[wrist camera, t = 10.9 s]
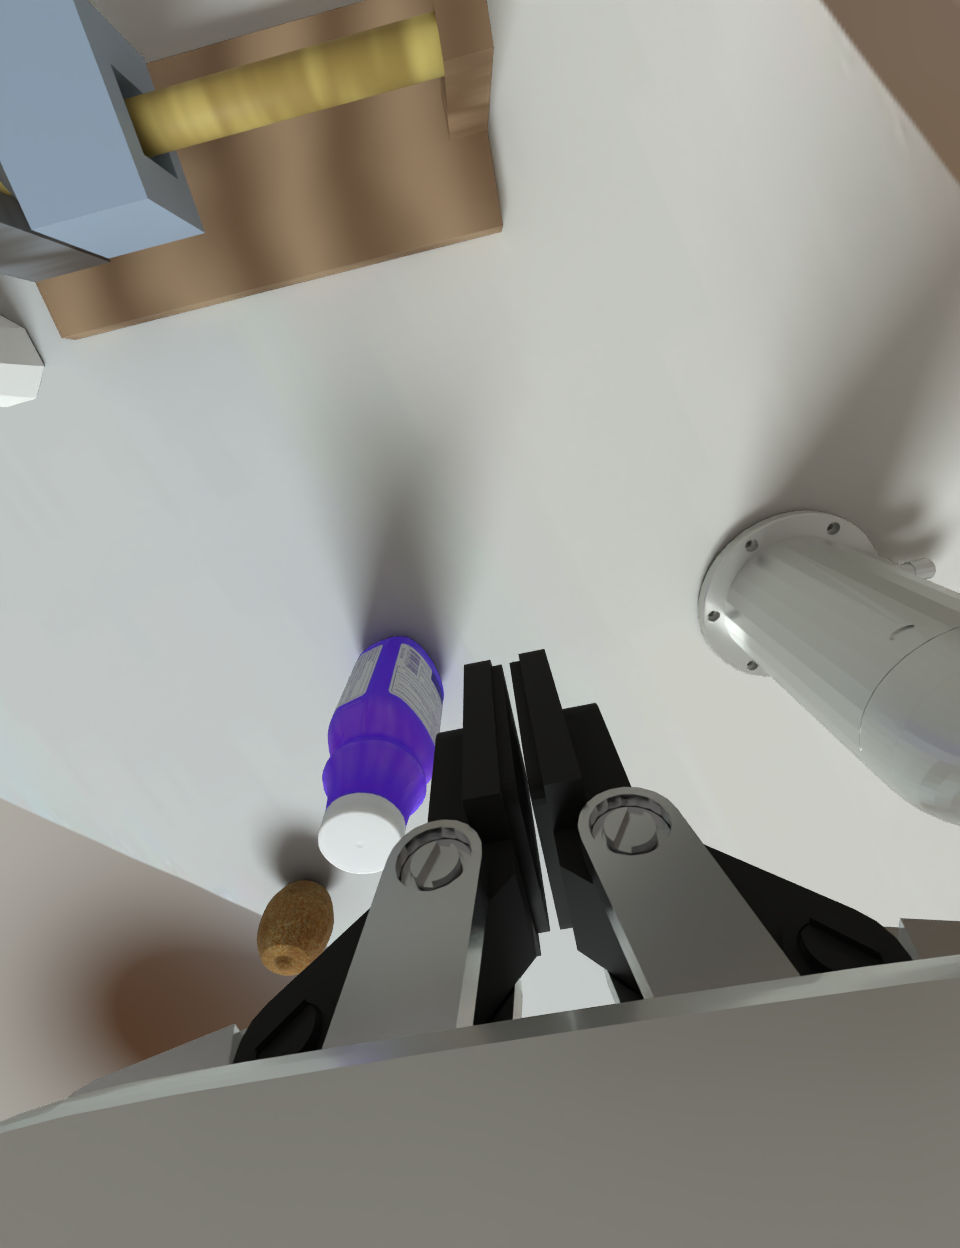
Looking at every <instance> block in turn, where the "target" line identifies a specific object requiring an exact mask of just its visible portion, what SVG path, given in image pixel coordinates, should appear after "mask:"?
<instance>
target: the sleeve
mask: <svg viewBox="0 0 960 1248" xmlns="http://www.w3.org/2000/svg"><path fill="white" fill-rule="evenodd" d="M154 90H155V88H154V85H153V83H152V80H151V77H150V74H149V71H148V68H147V65H146V63H145V60H144V58H143V57H142V56H141V55H140V54H139V53H138V52H137V51H136V50H135V49H134V48H133V47H132V46H131V45H130V44H129V43H128V42H127V40H126V39H125V38H124V37H123V36H122V35H121V34H120V33H119V32H118V31H117V30H116V29H115V28H114V27H113V26H112V25H111V24H110V23H109V22H108V21H107V20H106V19H105V18H104V17H103V16H102V15H101V14H100V13H99V12H98V11H97V10H96V9H95V8H94V7H93V6H92V5H91V3H90V2H89V1H88V0H0V162H1V164H2V166H3V169H4V171H5V173H6V175H7V177H8V180H9V182H10V184H11V186H12V188H13V191H14V193H15V195H16V197H17V199H18V201H19V204H20V206H21V208H22V210H23V212H24V215H25V217H26V219H27V221H28V223H29V225H30V228H31V230H33V231H36V232H39V233H41V234H44V235H47V236H49V237H52V238H55V239H57V240H60V241H63V242H66V243H68V244H71V245H74V246H76V247H79V248H82V249H84V250H87V251H90V252H92V253H95V254H98V255H101V256H103V257H106V258H112V257H116V256H120V255H124V254H127V253H131V252H135V251H139V250H143V249H146V248H150V247H154V246H158V245H162V244H165V243H169V242H173V241H177V240H181V239H184V238H188V237H192V236H196V235H200V234H203V233H205V231H204V228H203V226H202V223H201V220H200V217H199V214H198V211H197V208H196V206H195V203H194V200H193V197H192V194H191V191H190V188H189V186H188V183H187V180H186V177H185V174H184V171H183V168H182V166H181V163H180V160H179V157H178V154H177V151H176V150H175V151H172V152H168V153H164V154H161V155H157V156H153V157H150V158H148V157H147V156H145V155H144V153H143V151H142V148H141V145H140V143H139V140H138V137H137V134H136V132H135V129H134V126H133V124H132V121H131V118H130V116H129V113H128V110H127V107H126V105H125V102H124V99H126V98H130V97H133V96H137V95H140V94H144V93H147V92H151V91H154Z"/></svg>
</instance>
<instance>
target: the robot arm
mask: <svg viewBox="0 0 960 1248" xmlns="http://www.w3.org/2000/svg"><path fill="white" fill-rule="evenodd" d="M748 541H749V542H748ZM747 542H748V544H747V545H746V543H747ZM935 572H936V569H935V565H934V563H933V562H932V561H931V560H930V559H920V560H915V561H910V562H906V563H904V564H898V563H895V562H893V561H890V560H888V559H885V558H883V557H880V556H878V555H877V554H876V551H875V548H874V547H873V545H872V544H871V542H870V540H869V539H868V537H867V536H866V535H865V534H864V533H863V532H862V531H861V530H860V529H859V528H858V527H857V526H855V525H853V524H852V523H850V522H848V521H846V520H845V519H843V518H840V517H837V516H834V515H831V514H828V513H823V512H817V511H792V512H787V513H782V514H778V515H775V516H772V517H770V518H767V519H765V520H762V521H760V522H758V523H756V524H754V525H753V526H751V527H749V528H748V529H746V530H744V531H743V532H742V533H740V534H739V535H738V536H737V537H736V538H734V539H733V540H732V541H731V542H730V543H729V544H728V545H727V546H726V547H725V548H724V549H723V550H722V552H721V553H720V554H719V555H718V556H717V557H716V559H715V561H714V562H713V564H712V565H711V567H710V569H709V570H708V572H707V574H706V577H705V579H704V582H703V584H702V587H701V591H700V596H699V601H698V619H699V623H700V628H701V632H702V634H703V636H704V638H705V640H706V642H707V644H708V645H709V646H710V647H711V649H712V650H713V651H714V652H715V654H717V655H718V656H719V657H720V658H721V659H722V660H723V661H724V662H725V663H726V664H728V665H730V666H731V667H733V668H735V669H736V670H739V671H741V672H744V673H746V674H750V675H756V676H763V677H772V678H773V679H774V680H775V681H776V682H777V683H778V684H779V685H780V686H781V687H782V688H783V689H785V690H786V691H787V692H788V693H789V694H790V695H791V696H792V697H793V698H794V699H795V700H796V701H797V702H798V703H799V704H800V705H802V706H803V707H804V708H805V709H806V710H807V711H808V712H809V713H810V714H811V715H812V716H813V717H814V718H815V719H816V720H817V721H819V722H820V723H821V724H822V725H823V726H824V727H825V728H826V729H827V730H828V731H829V732H830V733H831V734H832V735H833V736H834V737H836V738H837V739H838V740H839V741H840V742H841V743H842V744H843V745H844V746H845V747H846V748H847V749H848V750H849V751H850V752H851V753H853V754H854V755H855V756H856V757H857V758H858V759H859V760H860V761H861V762H862V763H863V764H864V765H865V766H866V767H867V768H868V769H870V770H871V771H872V772H873V773H874V774H875V775H876V776H877V777H878V778H880V779H881V780H882V781H883V782H884V783H885V784H886V785H887V786H888V787H889V788H890V789H891V790H893V791H894V792H895V793H896V794H897V795H899V796H900V797H901V798H902V799H904V800H905V801H906V802H908V803H910V804H911V805H913V806H914V807H916V808H917V809H919V810H921V811H923V812H925V813H927V814H929V815H931V816H934V817H936V818H938V819H940V820H943V821H945V822H948V823H951V824H955V825H958V826H960V593H957V592H955V591H952V590H950V589H948V588H945V587H943V586H940V585H938V584H935V583H933V582H931V581H928V580H926V579H930V578H932V577H933V576H934V575H935ZM711 611H712V612H711ZM710 612H711V613H710ZM709 613H710V614H709ZM519 660H520V661H517V662H512V663H510V669H511V676H512V682H513V689H514V695H515V702H516V709H517V715H518V722H519V728H520V735H521V742H522V748H523V755H524V761H525V766H524V762H523V757H522V753H521V748H520V744H519V739H518V735H517V730H516V726H515V722H514V717H513V713H512V708H511V704H510V699H509V695H508V690H507V686H506V681H505V677H504V672H503V668H502V665H497V666H492V664H491V661H490V660H487V661H482V662H477V663H472V664H467V665H464V698H463V728H462V729H457V730H451V731H446V732H441V733H438V734H437V735H436V739H435V750H434V760H433V771H432V782H431V792H430V803H429V813H428V823H426V824H423V825H421V826H419V827H416V828H414V829H413V830H412V831H410V832H409V833H407V834H406V835H404V836H403V837H402V838H401V839H400V840H399V842H398V843H397V844H396V845H395V846H394V847H393V849H392V851H391V853H390V855H389V856H388V858H387V861H386V864H385V867H384V869H383V872H382V875H381V878H380V881H379V884H378V887H377V890H376V893H375V896H374V899H373V902H372V904H371V907H370V909H369V910H367V911H366V912H365V913H364V914H363V915H362V916H361V917H360V918H359V919H358V920H357V921H356V922H355V923H354V924H352V925H351V926H350V927H349V928H348V929H347V930H346V931H345V932H344V933H343V934H342V935H341V936H340V937H338V938H337V939H336V940H335V941H334V942H333V943H332V944H331V945H330V946H329V947H328V948H327V949H326V950H325V951H323V952H322V953H321V954H320V955H319V956H318V957H317V958H316V959H315V960H314V961H313V962H312V963H311V964H309V965H308V966H307V967H306V968H305V969H304V970H303V971H302V972H301V973H300V974H299V975H298V976H297V977H295V978H294V979H293V980H292V981H291V982H290V983H289V984H288V985H287V986H286V987H285V988H284V989H283V990H282V991H280V992H279V993H278V994H277V995H276V996H275V997H274V998H273V999H272V1000H271V1001H270V1002H269V1003H268V1004H267V1005H266V1006H265V1007H264V1008H263V1009H262V1010H261V1011H260V1012H259V1014H258V1015H257V1016H256V1017H255V1018H254V1019H253V1020H252V1022H251V1024H250V1025H249V1027H248V1028H247V1029H244V1030H242V1031H239V1029H238V1028H237V1027H236V1025H235V1024H233V1025H231V1026H229V1027H226V1028H223V1029H221V1030H218V1031H216V1032H213V1033H211V1034H208V1035H206V1036H203V1037H201V1038H199V1039H196V1040H194V1041H191V1042H188V1043H186V1044H183V1045H181V1046H178V1047H176V1048H174V1049H171V1050H168V1051H166V1052H164V1053H161V1054H159V1055H156V1056H154V1057H151V1058H149V1059H146V1060H144V1061H141V1062H139V1063H136V1064H134V1065H131V1066H129V1067H126V1068H124V1069H121V1070H119V1071H116V1072H114V1073H111V1074H109V1075H106V1076H104V1077H101V1078H99V1079H96V1080H94V1081H93V1082H91V1083H89V1084H87V1085H86V1086H84V1087H82V1088H80V1089H78V1090H77V1091H75V1092H74V1093H72V1094H71V1095H70V1096H69V1097H68V1098H66V1099H63V1100H60V1101H57V1102H54V1103H51V1104H48V1105H45V1106H41V1107H38V1108H35V1109H32V1110H29V1111H26V1112H23V1113H20V1114H17V1115H15V1116H13V1117H10V1118H8V1119H6V1120H4V1121H1V1122H0V1248H960V921H944V920H924V919H905V918H900V922H899V928H898V927H883V926H882V925H880V924H879V923H878V922H877V921H875V920H873V919H871V918H869V917H868V916H866V915H864V914H862V913H860V912H859V911H857V910H855V909H853V908H850V907H848V906H846V905H843V904H841V903H839V902H836V901H834V900H832V899H829V898H827V897H825V896H822V895H820V894H818V893H815V892H813V891H811V890H808V889H806V888H804V887H802V886H799V885H797V884H795V883H792V882H790V881H788V880H785V879H783V878H781V877H778V876H776V875H774V874H771V873H769V872H767V871H764V870H762V869H760V868H757V867H755V866H753V865H750V864H748V863H746V862H743V861H741V860H739V859H736V858H734V857H732V856H730V855H727V854H725V853H723V852H720V851H718V850H716V849H713V848H711V847H709V846H706V845H704V844H703V843H702V841H701V840H700V839H699V837H698V836H697V835H696V833H695V832H694V831H693V829H692V828H691V827H690V825H689V824H688V823H687V821H686V820H685V818H684V817H683V816H682V814H681V813H680V812H679V810H678V809H677V808H676V807H675V806H674V805H673V804H672V803H671V802H670V801H669V800H668V799H667V798H665V797H663V796H661V795H660V794H658V793H656V792H654V791H650V790H647V789H643V788H639V787H631V785H630V783H629V780H628V778H627V775H626V773H625V770H624V768H623V766H622V763H621V761H620V758H619V756H618V753H617V751H616V749H615V746H614V744H613V741H612V739H611V736H610V734H609V732H608V729H607V727H606V724H605V722H604V720H603V717H602V715H601V712H600V710H599V708H598V706H597V704H596V703H592V704H587V705H582V706H577V707H571V708H566V709H562V707H561V704H560V700H559V697H558V694H557V690H556V687H555V683H554V680H553V677H552V673H551V670H550V667H549V663H548V660H547V656H546V653H545V650H544V649H542V650H537V651H532V652H527V653H522V654H519ZM525 768H526V771H525ZM526 774H527V776H526ZM527 780H528V781H527ZM528 786H529V787H528ZM529 791H530V794H529ZM530 796H531V801H532V806H533V810H534V815H535V819H536V824H537V828H538V833H539V837H540V841H541V846H542V850H543V855H544V859H545V864H546V868H547V873H548V877H549V881H550V886H551V890H552V895H553V899H554V904H555V908H556V913H557V917H558V921H559V926H560V930H561V929H567V928H573V931H574V936H575V940H576V945H577V950H578V951H580V952H581V953H583V954H584V955H586V956H587V957H589V958H590V959H591V960H593V961H594V962H596V963H597V964H599V965H600V966H602V967H603V968H604V971H605V975H606V979H607V983H608V986H609V988H610V991H611V994H612V996H613V999H614V1001H615V1004H611V1005H604V1006H598V1007H591V1008H585V1009H578V1010H572V1011H565V1012H558V1013H552V1014H545V1015H539V1016H532V1017H526V1018H521V1016H522V997H523V995H522V985H521V980H520V978H521V976H522V975H523V974H524V972H525V971H526V970H527V968H528V967H529V966H530V964H531V963H532V962H533V961H534V959H535V958H536V957H537V956H541V951H540V943H539V935H538V933H542V932H548V931H550V926H549V919H548V913H547V906H546V899H545V893H544V886H543V880H542V873H541V866H540V860H539V853H538V847H537V840H536V834H535V827H534V820H533V814H532V807H531V801H530Z"/></svg>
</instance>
